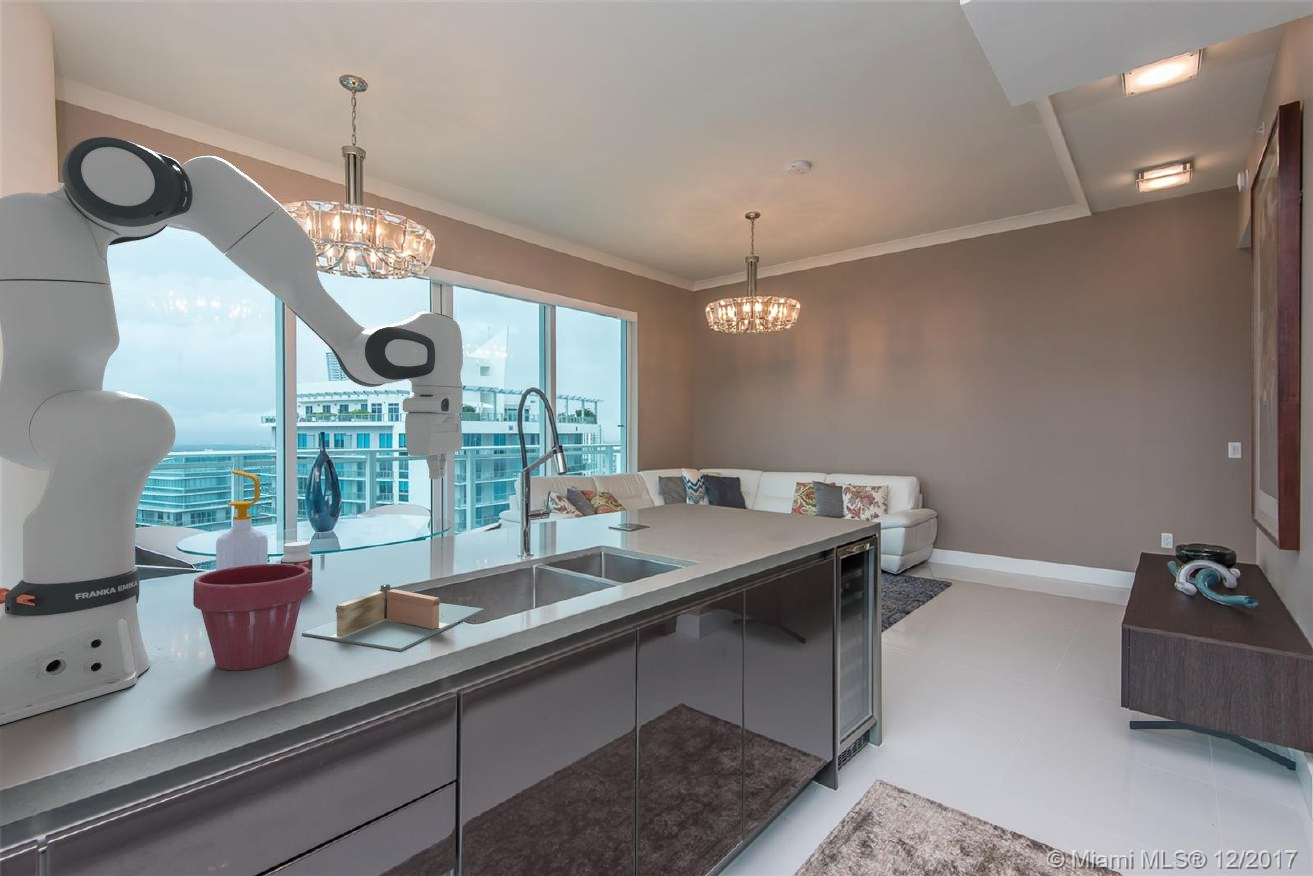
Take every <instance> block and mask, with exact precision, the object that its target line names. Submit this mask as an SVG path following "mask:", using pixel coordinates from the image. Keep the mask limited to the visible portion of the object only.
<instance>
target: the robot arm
mask: <svg viewBox="0 0 1313 876" xmlns="http://www.w3.org/2000/svg"><path fill="white" fill-rule="evenodd" d="M61 168H62V170H61V171H62V172H61V173H62V180H63V186H62V187H60V188H59V189H58V190H56V191H52V192H47V193H42V192H40V193H39V192H18V193H12V194H9V195H6V196H3V197H1V198H0V330H1V335H2V336H1V337H2V350H3V351H2V352H3V353H2V365H1V373H0V457H1V458H3V459H5V460H8V461H10V462H12V463H14V464H17V465H20V466H22V467H25V468H29V469H33V470H39V471H49V473H48V477H47V481H46V485H45V488H44V490H43V493H42V496H41V498H40V500H39V502H38V504H37V505H36V507H35V508H34V509H32V511H30V513H28V515H26V517H25V519H24V521H23V524H22V579H21V580H20V581H18V583H17V584H16V585H15V586H13V587H12V588H11V589H9V588H7V587H0V605H3V604H4V613H3V614H2V615H1V616H0V726H1V725H4V724H8V723H12V722H15V721H18V720H22V719H24V718H28V717H32V716H35V715H39V714H43V713H46V712H49V711H53V710H56V709H59V708H62V707H65V706H69V705H73V704H75V703H79V702H82V701H87V700H89V699H93V698H96V697H100V696H103V695H106V694H109V693H112V692H117V691H120V690H123V689H126V688H127V689H128V688H129V687H132V686H134V685H135V684H136V683H137V681H138V677H140V675H141V674H143V673H144V672H146V670H147V669H149V667H150V666H151V661H150V658H149V655H148V653H147V650H146V648H145V645H144V641H143V636H142V633H141V627H140V621H139V615H138V605H137V604H138V603H139V600H140V599H139V598H140V570H139V567H137V566H136V523H137V513H138V509H139V504H140V502H141V497H142V495H143V493H144V490H145V486H146V484H147V481H148V480H149V477H150V475H151V473H152V471H154V468H156V466H157V465H158V464H159V463H160V462H161V461H163V460H164V459H165V458H166V457H167V456H169V453H170V452H171V450H172V449H173V447H174V444H175V440H176V425H175V423H174V420H173V418H172V416H171V414H170V413H169V411H168V410H167V409H166V408H165V407H164V406H162V405H161V404H160V403H159V402H156V401H154V400H151V399H149V398H146V397H143V396H140V395H137V394H133V393H129V392H125V391H119V390H103V384H104V377H105V372H106V367H107V365H108V362H109V360H110V358H111V356H112V355H113V354H114V353H115V352H116V351H117V349H118V348H119V345H120V342H121V341H120V333H119V326H118V321H117V313H116V309H115V308H116V307H115V302H114V295H113V290H112V289H113V288H112V283H111V278H110V274H109V273H110V272H109V266H108V251H109V250H108V248H109V246H113V245H114V246H115V245H118V244H119V245H120V244H123V243H129V242H135V241H141V240H145V239H148V238H152V237H154V236H156V235H158V234H159V233H161V232H163V230H165V229H166V227H167V226H168V225H169V224H170V225H171V224H172V225H178V226H180V225H181V226H183V227H186V228H188V229H191V230H193V231H194V232H196V233H198V235H200V236H201V237H204V238H205V239H206V240H207V241H209V242H210V244H212V245H213V246H214V247H215V248H216V249H217V250H218V251H219V252H221V253H222V254H223V255H224V256H225V257H226V258H227V259H228V260H230V261H231V262H232V263H233V264H234V265H235V266H237V267H238V268H239V269H240V270H241V271H243V272H244V273H246V274H247V275H248V276H249V277H250V278H251V279H253V280H254V281H256V282H257V283H258V284H260V285H261V286H262V287H264V288H265V289H266V290H267V291H269V292H270V293H271V294H272V295H273V296H275V297H276V298H277V299H278V300H280V301H281V302H282V303H283V304H284V305H285V306H286V307H287V308H288V309H290V310H291V312H292V313H293V314H294V315H295V316H296V317H298V318H299V319H300V320H301V322H303V323H304V324H305V325H306V326H307V327H308V328H309V329H310V330H311V331H312V333H313V332H314V334H315V335H316V336H317V337H318V338H320V339H321V340H322V341H323V342H324V344H326V345H327V346H328V347H329V349H330V350H331V351H332V353H333V354H334V357H335V358H336V360H337V363H338V365H339V367H340V369H341V371H342V372H343V373H344V375H345V376H346V377H347V378H348V379H349V380H350V381H351V382H353V383H355V384H357V385H359V386H362V387H367V388H376V387H380V386H383V385H386V384H393V383H398V382H402V381H405V380H408V381H409V382H410V384H411V392H410V393H409V395H408V396H407V397H404V399H403V400H402V411H403V412H404V413H406V414H405V418H404V429H405V430H404V434H405V436H404V437H405V447H406V451H407V453H408V456H409V457H425V458H426V464H427V467H428V473H429V474H428V477H429V479H430V480H439V479H443V478H444V476H445V468H446V463H447V461H448V454H450V453H456V452H460V451H462V447H463V433H462V432H463V431H462V429H463V428H462V427H463V426H462V419H461V416H460V414H462V413H463V402H464V401H463V398H464V397H463V388H464V386H463V381H462V378H461V373H462V369H463V365H464V353H463V352H464V349H463V336H462V332H461V328H460V325H459V324H458V322H457V321H456V320H455V319H453V318H452V317H450V316H448V315H446V314H442V313H437V312H430V311H421V312H418V313H417V314H415V315H414V316H412V317H410V318H407V319H405V320H403V321H401V322H397V323H394V324H390V325H384V326H380V327H376V328H372V329H368V328H367V327H364V326H362V325H360V324H359V323H358V322H357V321H355V319H354V318H353V317H352V316H351V315H350V314H348V312H346V310H345V309H344V308H343V307H342V306H341V305H340V304H339V303H338V302H337V301H336V300H335V299H334V298H333V297H332V296H331V295H330V294H329V292H327V290H326V289H325V288H324V286H323V284H322V283H321V280H320V278H319V274H318V269H317V251H316V247H315V244H314V241H312V239H311V238H310V236H309V235H308V234H307V232H306V231H305V229H304V228H303V227H302V225H301V224H300V223H299V222H298V221H297V220H296V219H295V218H294V217H293V216H292V214H290V213H289V211H287V210H286V209H285V208H284V207H283V206H282V205H281V203H279V202H278V201H277V200H276V199H275V198H274V197H272V196H271V195H270V194H269V193H268V192H267V191H266V190H265V189H264V188H262V187H261V186H260V185H258V183H256V182H255V181H254V180H253V179H251V178H250V177H249V176H248V175H246V174H245V173H243V172H242V171H240V169H238V168H236V167H235V166H234V165H232V164H231V163H230V162H228V161H226V160H225V159H222V158H220V157H217V156H213V155H212V156H211V155H205V156H198V157H194V158H191V159H189V160H187V161H186V162H184V163H182V164H181V163H180V162H179V161H177V159H174V158H173V157H171V156H170V157H169V156H167V155H164V154H162V153H159V152H156V151H154V150H151V149H149V148H146V147H144V146H142V145H140V144H137V143H134V142H132V141H128V140H126V139H123V138H122V139H121V138H118V137H112V136H96V137H95V136H94V137H91V138H87V139H83V140H82V141H80V142H78V143H76V144H75V145H73V147H72V148H71V149H70V150H68V152H67V154H66V156H65V158H64V160H63V162H62V167H61Z"/></svg>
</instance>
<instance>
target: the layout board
mask: <svg viewBox="0 0 1313 876" xmlns="http://www.w3.org/2000/svg"><path fill="white" fill-rule="evenodd" d="M484 610H485V609H484V608H482V607H472V606H466V605H459V604H452V603H451V604H450V603H445V602H443V603H442V602H440V605H439V614H440V615H439V627H437V628H435V629H429V628H425V627H420V626H416V625H411V624H407V623H403V622H398V621H394V620H389V619H387V618H386V619H384V620H382V621H379V622H377V623H374V624H372V625H369V626H367V627H364V628H362V629H359V630H357V631H354V632H352V633H349V634H347V635H345V636H340V635H337V619H335V620H333V621H331V622H327V623H324V624H322V625H319V626H316V627H314V628H311V629H308V630H305V631H303V632H301V636H304V637H305V636H306V637H312V638H316V639H317V638H318V639H325V640H329V641H335V642H340V643H341V642H343V643H347V644H355V645H360V646H366V647H367V646H368V647H373V648H378V649H385V650H389V651H395V652H396V651H397V652H402V651H404V650H406V649H408V648H410V647H413V646H414V645H416V644H419V643H420V642H423V641H425V640H427V639H429V638H431V637H433V636H434V635H437V634H439V633H441V632H444V631H445V630H447V629H449V628H451V627H453V626H456V625H457V624H459V623H458V622H460V623H461V622H463V621H466V620H467V619H470V618H472V617H474V616H475V615H478V614H480V613H483V612H484ZM441 615H444V616H446V617H442V616H441ZM456 621H458V622H456Z"/></svg>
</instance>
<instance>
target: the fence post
mask: <svg viewBox="0 0 1313 876" xmlns="http://www.w3.org/2000/svg"><path fill="white" fill-rule="evenodd" d="M389 590H391V584H387V583H386V584H381V585H380V591H381V592H384V594H385V599H384V619H386V618H387V598H386V593H387V591H389Z"/></svg>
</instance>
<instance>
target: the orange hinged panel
mask: <svg viewBox="0 0 1313 876" xmlns="http://www.w3.org/2000/svg"><path fill="white" fill-rule="evenodd" d="M386 598H387V619H389V620H394V621H398V622H403V623H407V624H411V625H416V626H420V627H425V628H429V629H435V628H437V627H439V605H440V603H441V600H440V597H437V596H432V595H426V594H422V593H418V592H417V593H416V592H411V591H406V590H401V589H395V588H393V589H390V590H389V591H387V593H386Z"/></svg>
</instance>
